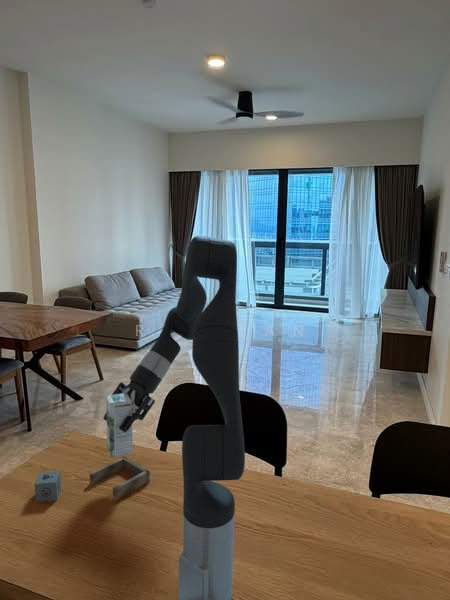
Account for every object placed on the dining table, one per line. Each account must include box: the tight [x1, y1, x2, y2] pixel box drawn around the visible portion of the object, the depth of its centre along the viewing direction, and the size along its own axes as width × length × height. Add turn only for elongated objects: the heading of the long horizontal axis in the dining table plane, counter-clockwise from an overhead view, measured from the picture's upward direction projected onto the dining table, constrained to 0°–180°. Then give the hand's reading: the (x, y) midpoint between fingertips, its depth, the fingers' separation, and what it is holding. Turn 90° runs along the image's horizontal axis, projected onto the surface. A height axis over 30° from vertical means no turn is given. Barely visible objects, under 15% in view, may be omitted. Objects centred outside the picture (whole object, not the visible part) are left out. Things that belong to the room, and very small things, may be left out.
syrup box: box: [105, 394, 133, 458], centre depth 111 cm, size 6×6×14 cm
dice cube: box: [34, 470, 62, 503], centre depth 108 cm, size 5×5×5 cm
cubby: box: [89, 456, 151, 502], centre depth 114 cm, size 11×11×3 cm
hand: (114, 425), depth 110 cm, fingers closed on syrup box, 7 cm apart
